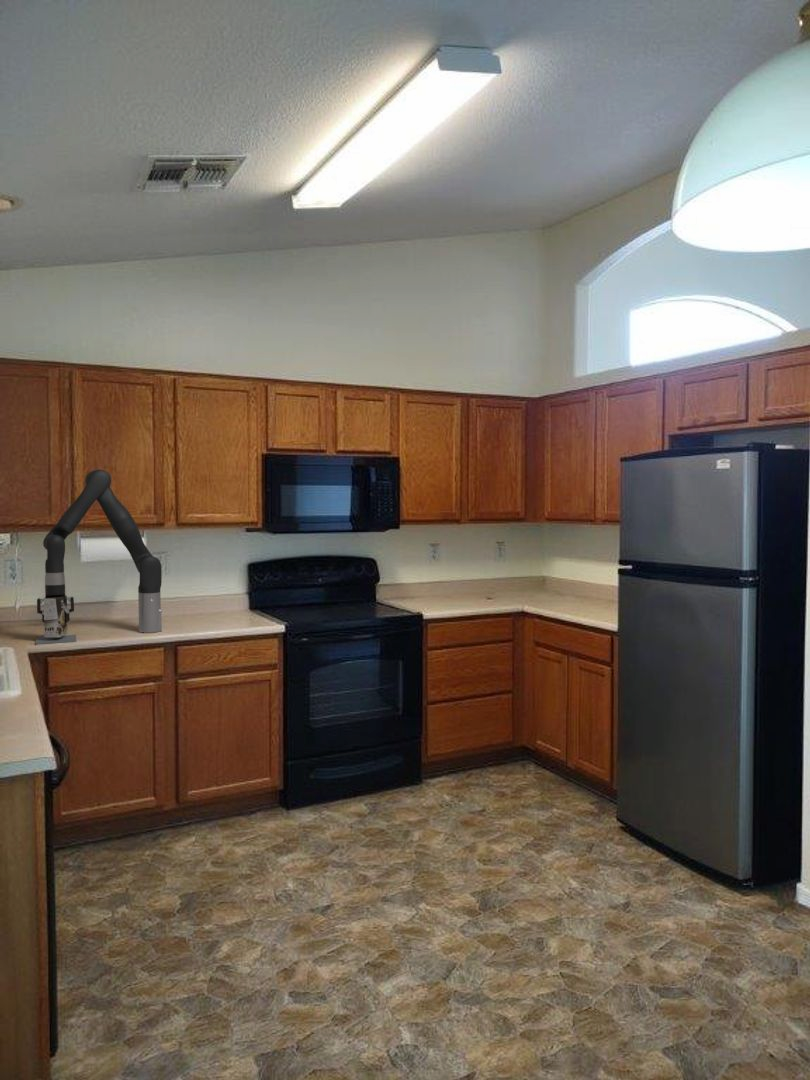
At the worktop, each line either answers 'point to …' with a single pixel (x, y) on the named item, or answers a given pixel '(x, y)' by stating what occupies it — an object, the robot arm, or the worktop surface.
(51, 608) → the coffee box
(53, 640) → the mat
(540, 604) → the worktop surface
